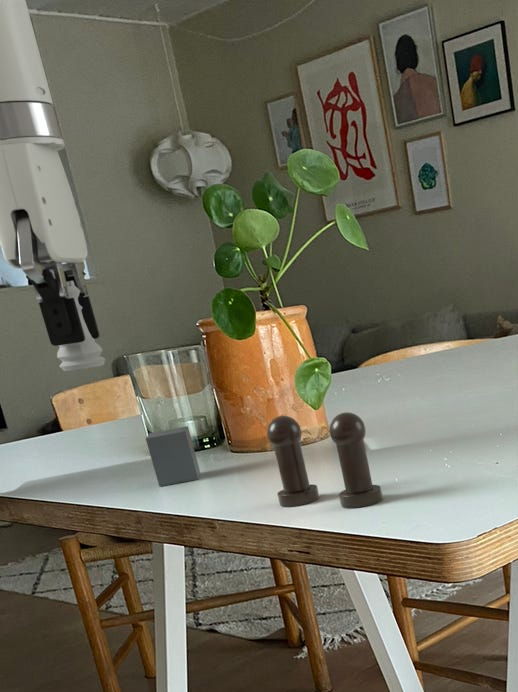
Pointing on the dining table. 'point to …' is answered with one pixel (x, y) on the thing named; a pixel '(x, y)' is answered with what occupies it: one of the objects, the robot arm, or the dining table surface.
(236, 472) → the dining table surface
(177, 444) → the grey block
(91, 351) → the rook chess piece
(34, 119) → the robot arm
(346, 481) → the pawn
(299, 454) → the pawn
